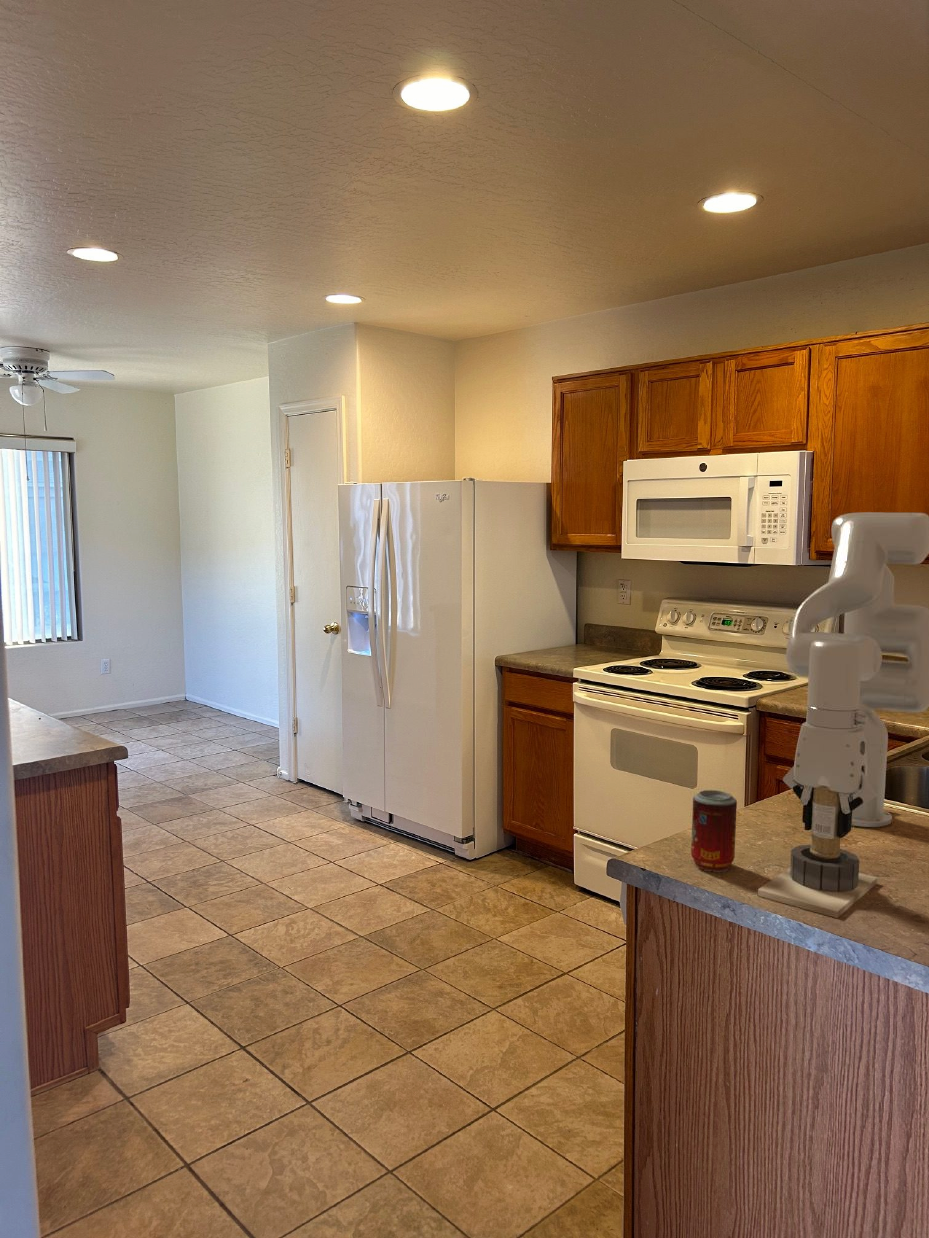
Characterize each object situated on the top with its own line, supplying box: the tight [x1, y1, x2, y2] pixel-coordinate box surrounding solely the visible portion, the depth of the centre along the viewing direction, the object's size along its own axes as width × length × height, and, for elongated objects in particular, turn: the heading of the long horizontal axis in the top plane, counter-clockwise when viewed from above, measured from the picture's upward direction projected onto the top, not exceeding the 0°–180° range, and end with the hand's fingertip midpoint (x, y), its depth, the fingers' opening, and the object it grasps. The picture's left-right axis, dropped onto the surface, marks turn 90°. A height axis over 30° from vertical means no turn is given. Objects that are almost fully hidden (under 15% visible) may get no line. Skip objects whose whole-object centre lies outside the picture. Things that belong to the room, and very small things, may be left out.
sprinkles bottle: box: [810, 776, 841, 859], centre depth 143 cm, size 5×5×13 cm
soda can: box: [690, 789, 738, 873], centre depth 152 cm, size 7×7×12 cm
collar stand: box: [757, 843, 878, 919], centre depth 143 cm, size 18×12×5 cm, turn 139°
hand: (826, 830), depth 144 cm, fingers closed on sprinkles bottle, 4 cm apart
